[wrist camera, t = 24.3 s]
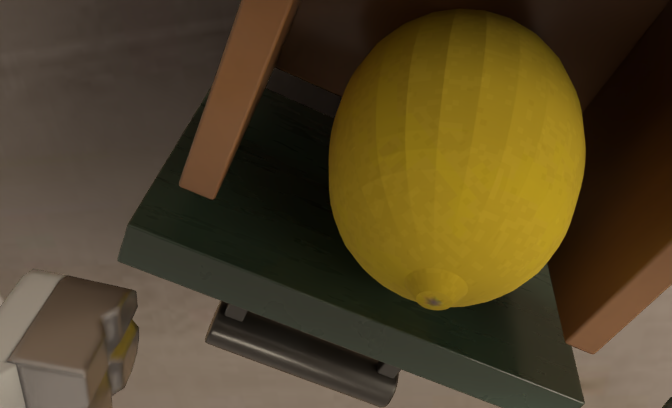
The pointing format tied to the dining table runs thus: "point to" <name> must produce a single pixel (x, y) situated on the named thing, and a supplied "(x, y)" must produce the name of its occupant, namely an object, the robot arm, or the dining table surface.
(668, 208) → the drawer
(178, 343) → the dining table surface
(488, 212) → the lemon
